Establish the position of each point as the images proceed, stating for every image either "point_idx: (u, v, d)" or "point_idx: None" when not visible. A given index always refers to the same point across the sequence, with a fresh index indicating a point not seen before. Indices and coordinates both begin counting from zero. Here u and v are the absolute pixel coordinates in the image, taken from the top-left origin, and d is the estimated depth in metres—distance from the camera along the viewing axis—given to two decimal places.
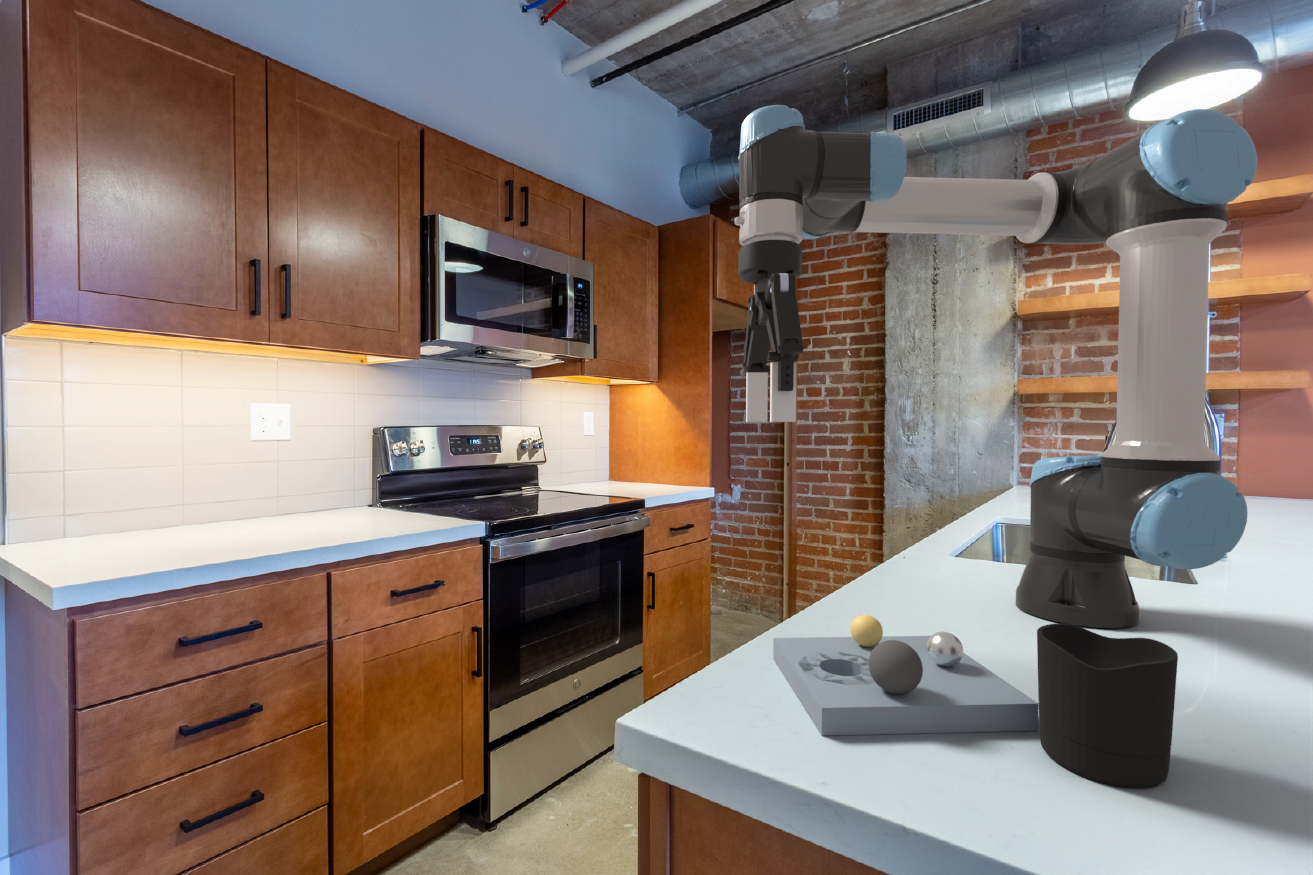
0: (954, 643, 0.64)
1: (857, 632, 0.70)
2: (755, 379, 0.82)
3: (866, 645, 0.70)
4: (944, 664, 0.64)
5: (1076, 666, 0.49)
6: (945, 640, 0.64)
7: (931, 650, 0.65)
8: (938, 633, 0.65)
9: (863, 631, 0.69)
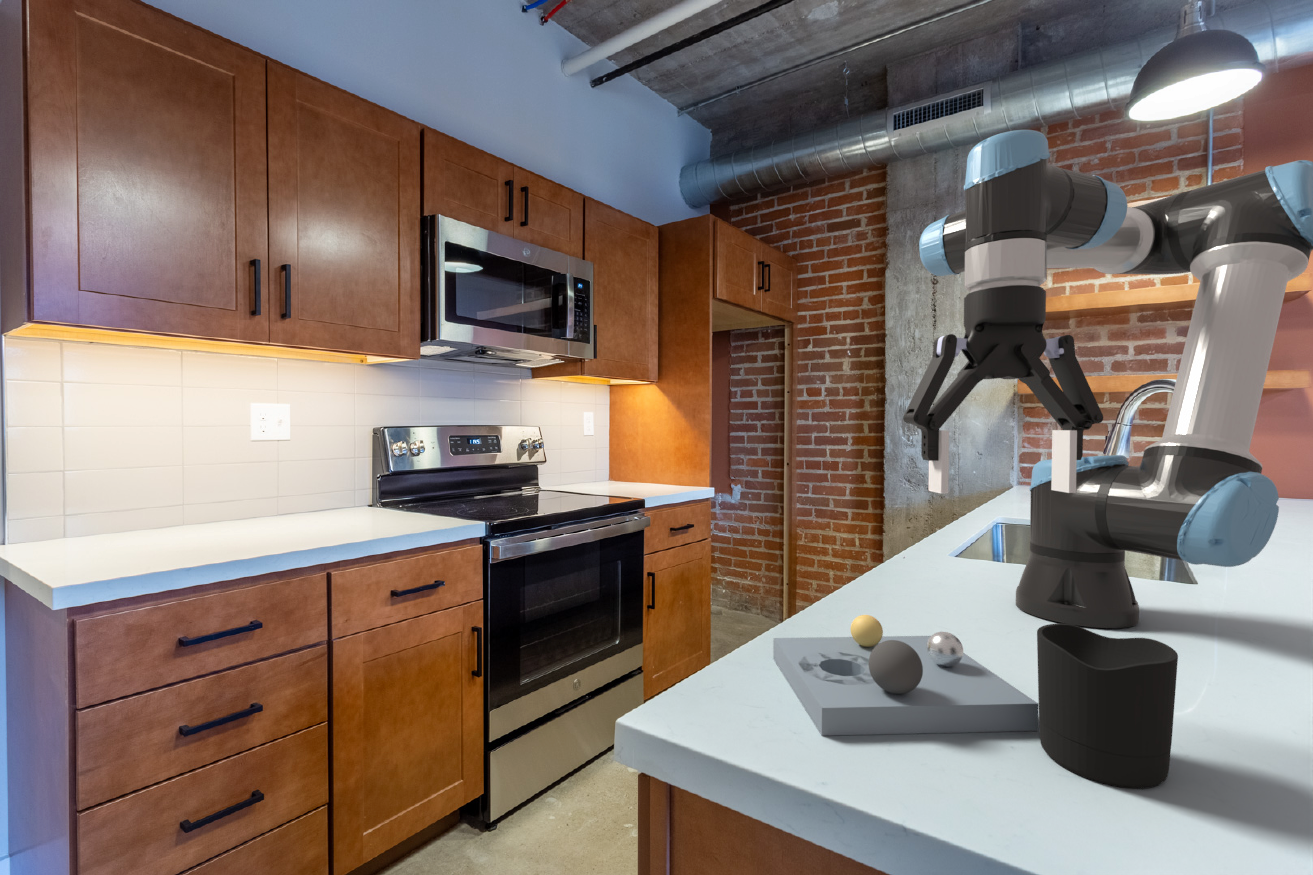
0: (954, 643, 0.64)
1: (857, 632, 0.70)
2: (1059, 438, 0.66)
3: (866, 645, 0.70)
4: (944, 664, 0.64)
5: (1076, 666, 0.49)
6: (945, 640, 0.64)
7: (931, 650, 0.65)
8: (938, 633, 0.65)
9: (863, 631, 0.69)
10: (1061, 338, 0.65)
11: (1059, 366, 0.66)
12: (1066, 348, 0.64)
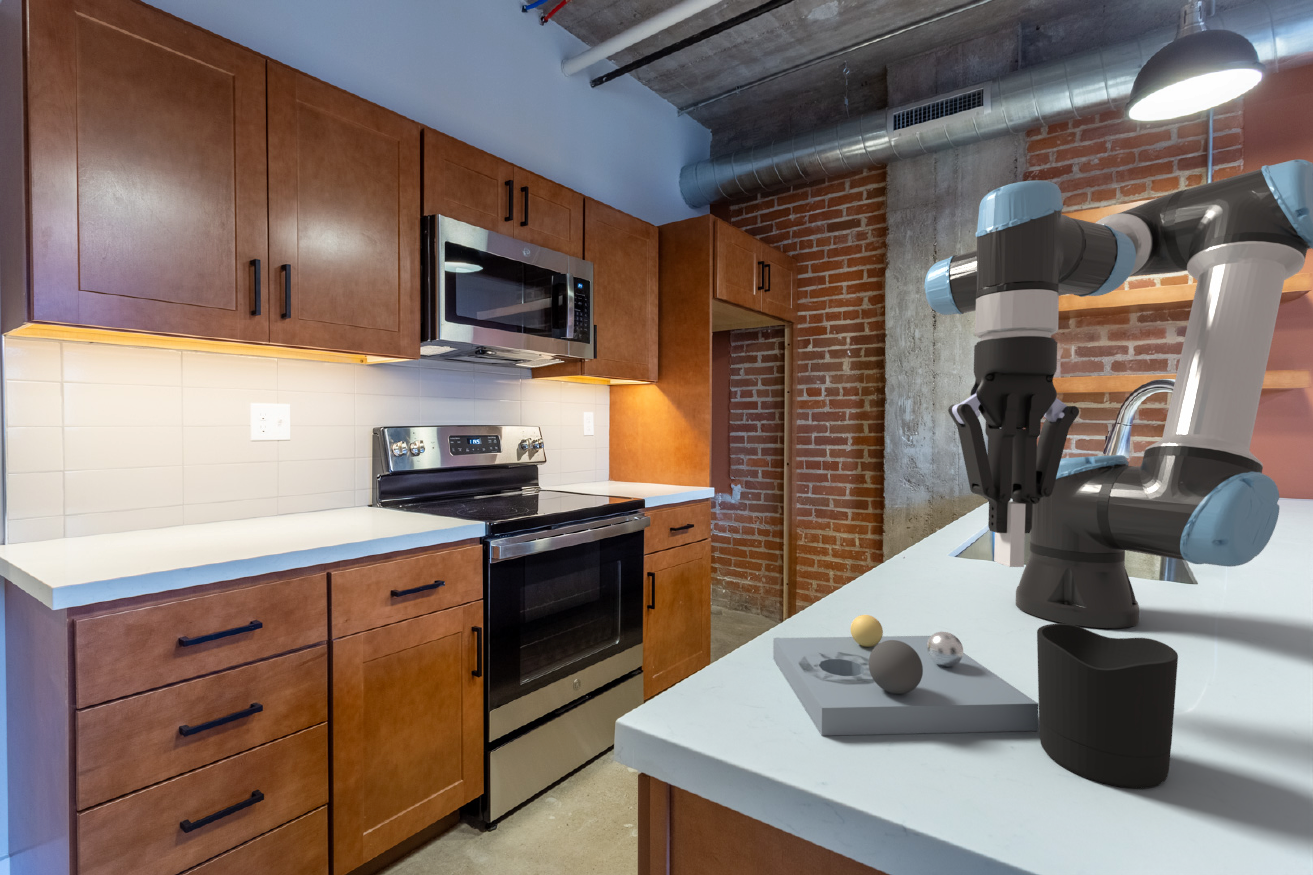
0: (954, 643, 0.64)
1: (857, 632, 0.70)
2: None
3: (866, 645, 0.70)
4: (944, 664, 0.64)
5: (1076, 666, 0.49)
6: (945, 640, 0.64)
7: (931, 650, 0.65)
8: (938, 633, 0.65)
9: (863, 631, 0.69)
10: (1069, 406, 0.64)
11: (1049, 429, 0.65)
12: (1067, 416, 0.64)
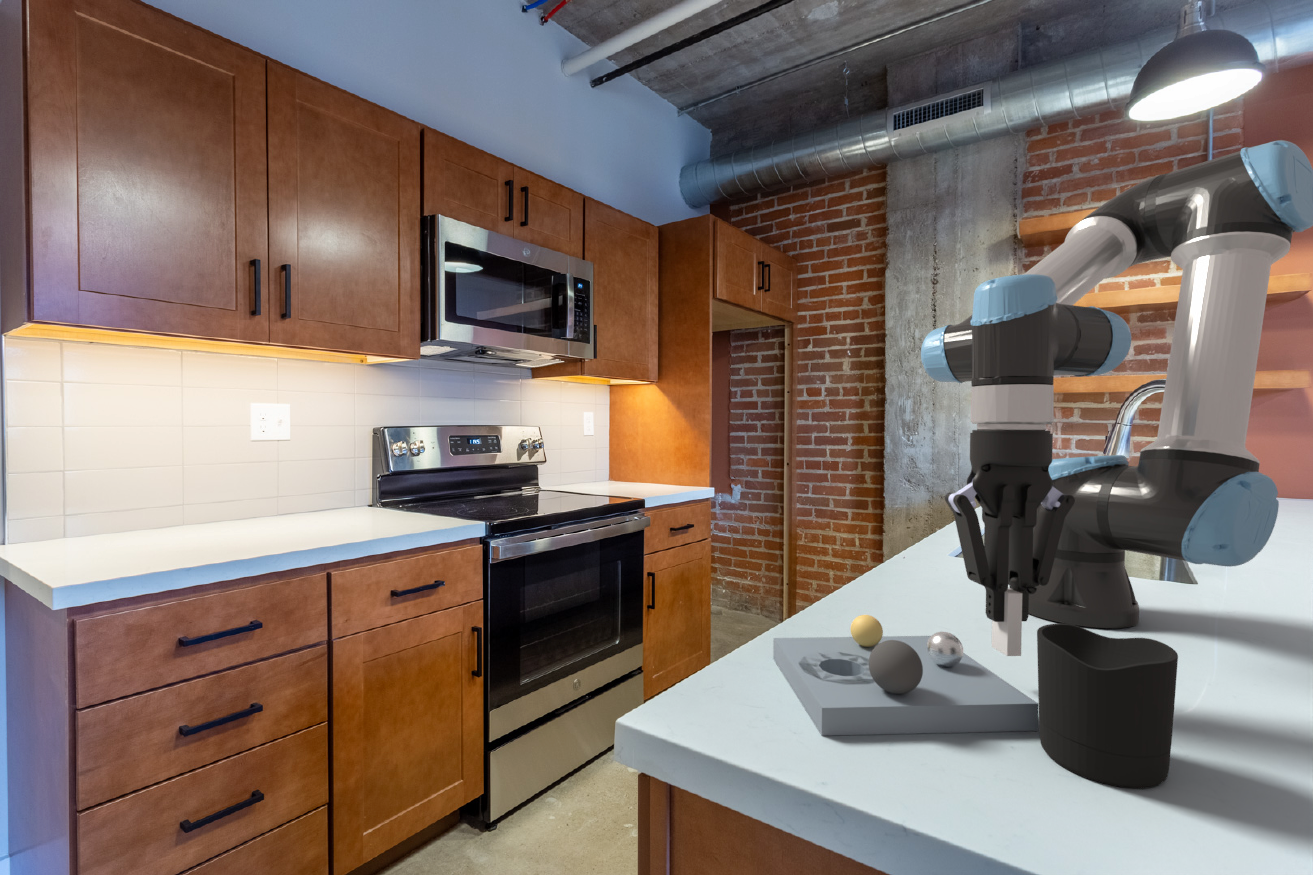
0: (954, 643, 0.64)
1: (857, 632, 0.70)
2: None
3: (866, 645, 0.70)
4: (944, 664, 0.64)
5: (1076, 666, 0.49)
6: (945, 640, 0.64)
7: (931, 650, 0.65)
8: (938, 633, 0.65)
9: (863, 631, 0.69)
10: (1065, 495, 0.65)
11: (1045, 517, 0.65)
12: (1063, 505, 0.64)
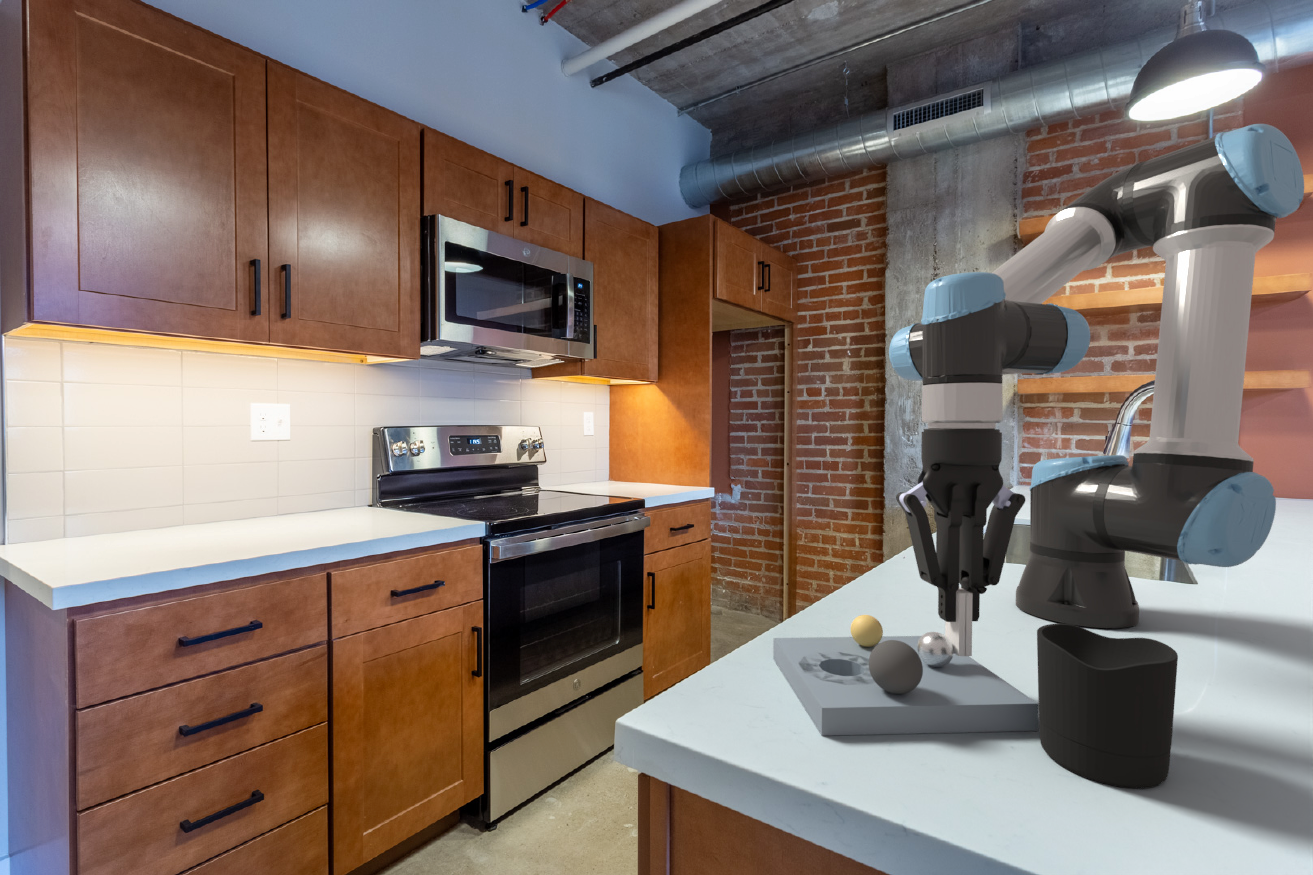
0: (938, 643, 0.64)
1: (857, 632, 0.70)
2: None
3: (866, 645, 0.70)
4: (941, 666, 0.64)
5: (1076, 666, 0.49)
6: (930, 646, 0.64)
7: (923, 659, 0.65)
8: (921, 639, 0.65)
9: (863, 631, 0.69)
10: (1015, 494, 0.64)
11: (997, 516, 0.65)
12: (1013, 504, 0.64)
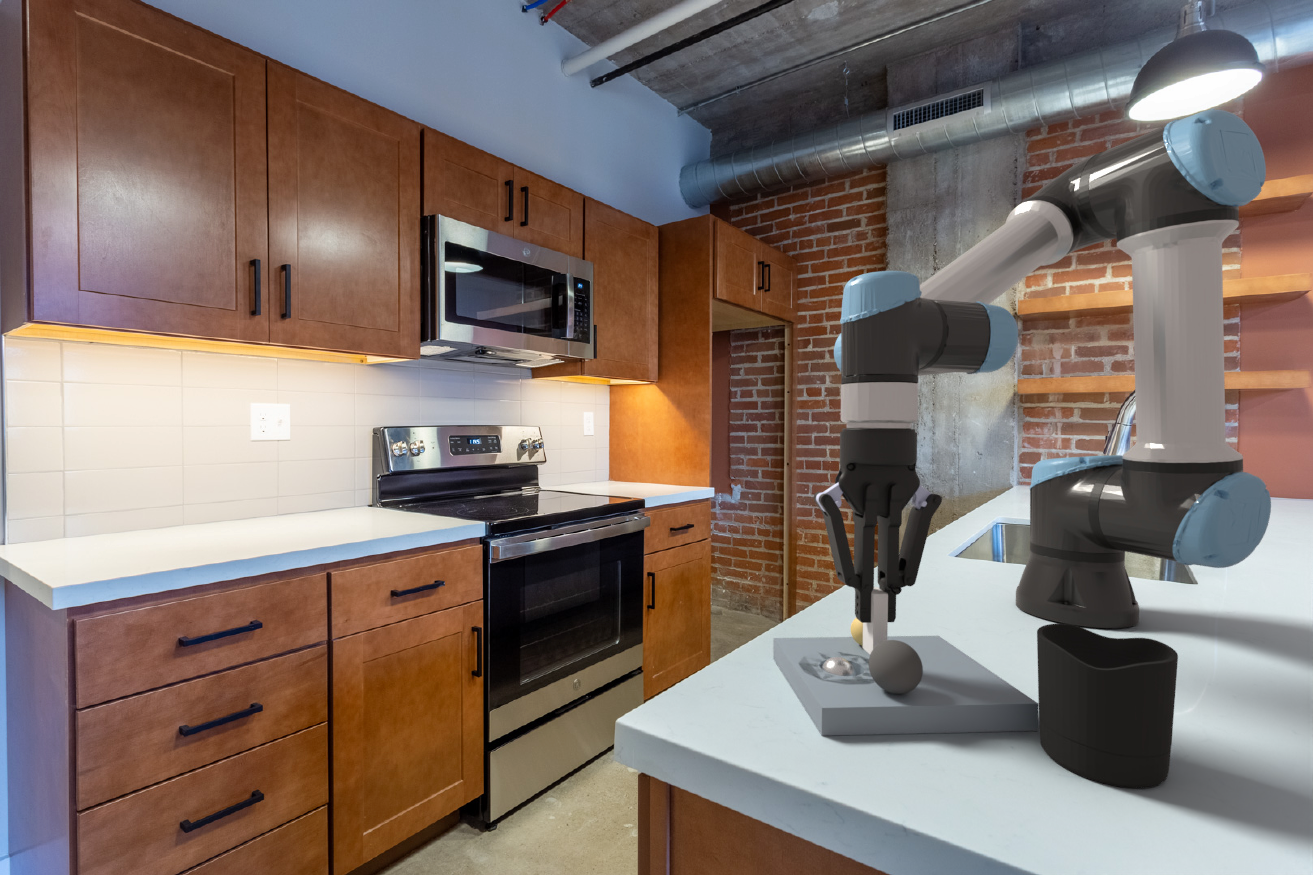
0: (836, 671, 0.63)
1: (857, 632, 0.70)
2: None
3: None
4: None
5: (1076, 666, 0.49)
6: None
7: None
8: None
9: None
10: (932, 494, 0.64)
11: (914, 517, 0.65)
12: (929, 505, 0.64)
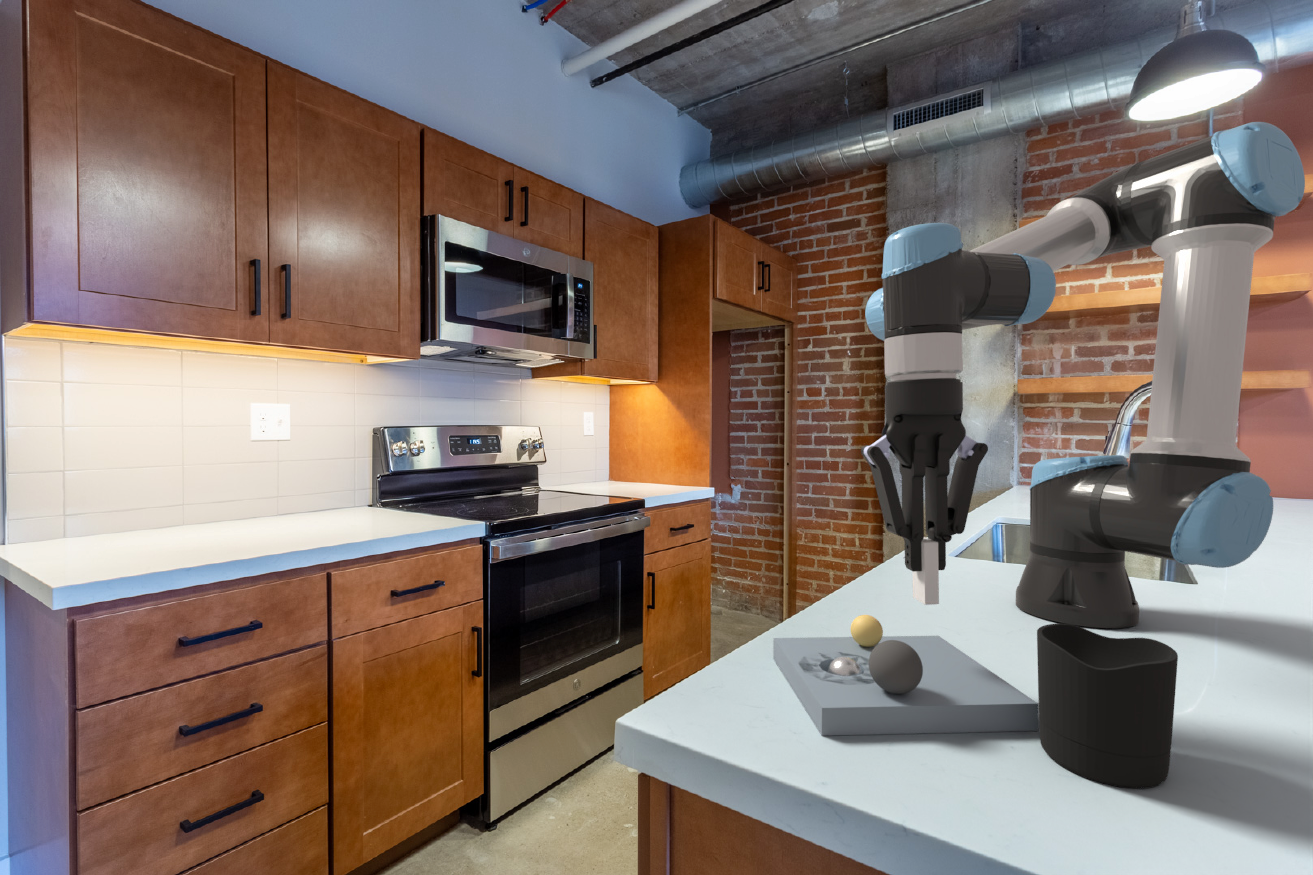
0: (847, 669, 0.63)
1: (857, 632, 0.70)
2: None
3: (866, 645, 0.70)
4: None
5: (1076, 666, 0.49)
6: (839, 671, 0.64)
7: None
8: (832, 663, 0.65)
9: (863, 631, 0.69)
10: (978, 443, 0.65)
11: (961, 466, 0.66)
12: (976, 453, 0.65)
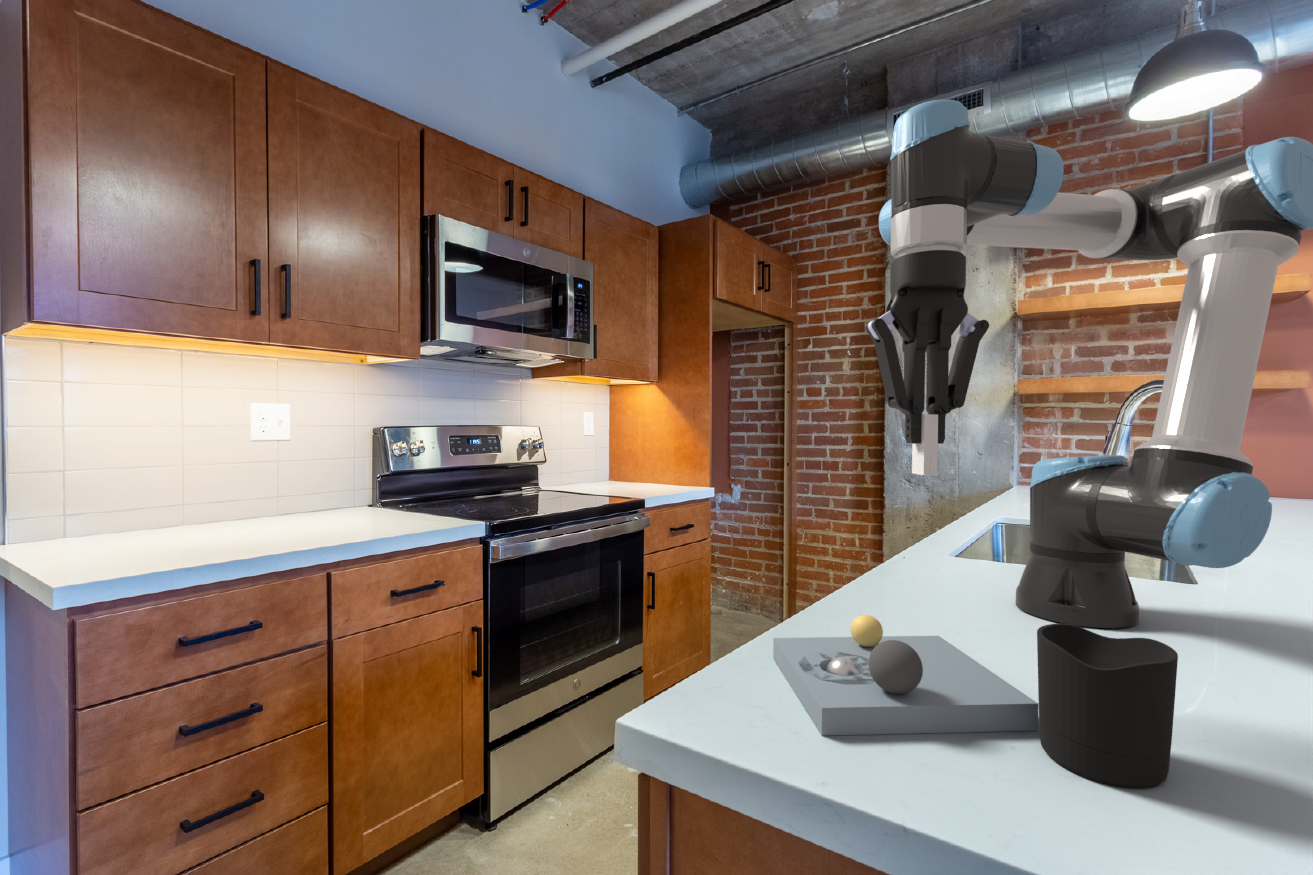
0: (844, 670, 0.63)
1: (857, 632, 0.70)
2: None
3: (866, 645, 0.70)
4: None
5: (1076, 666, 0.49)
6: (836, 672, 0.64)
7: None
8: (829, 665, 0.65)
9: (863, 631, 0.69)
10: (980, 320, 0.67)
11: (962, 344, 0.68)
12: (977, 330, 0.67)
